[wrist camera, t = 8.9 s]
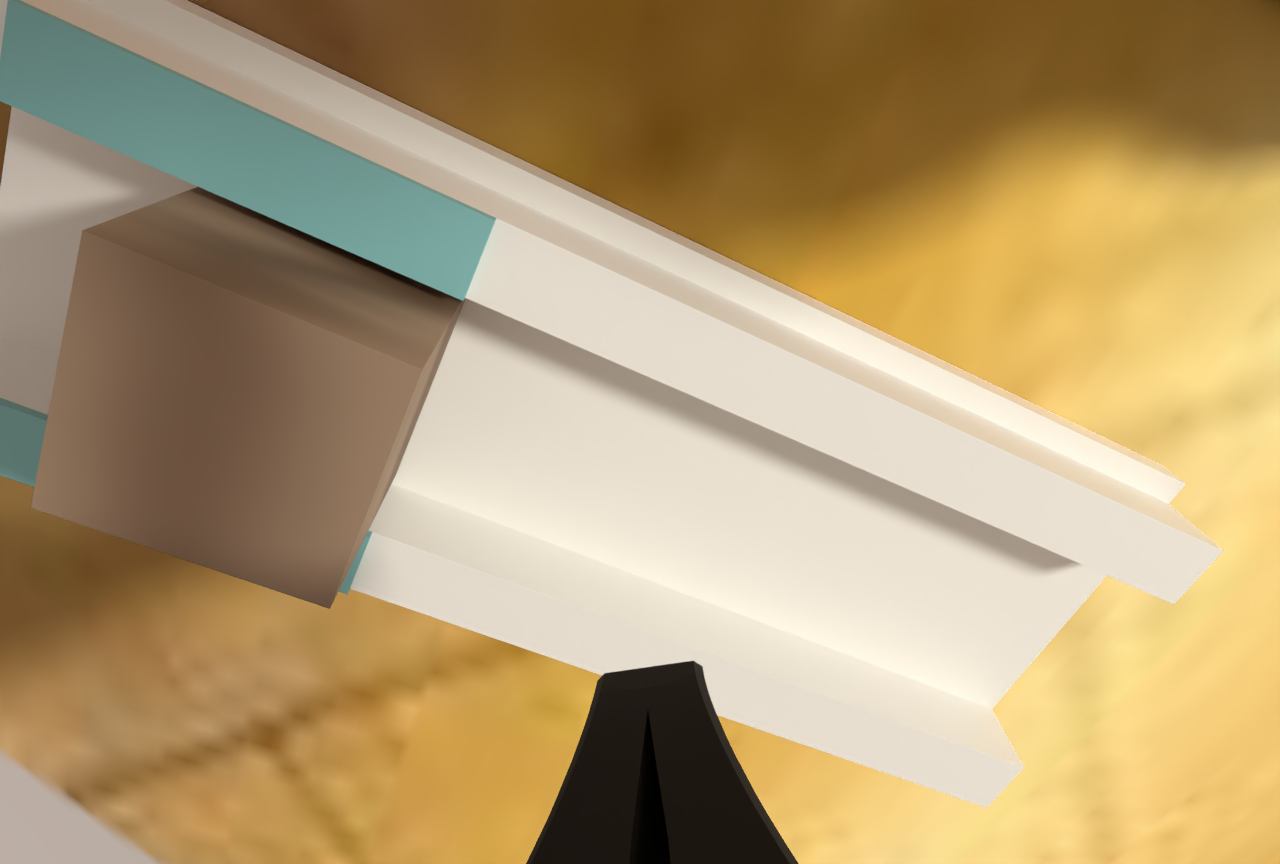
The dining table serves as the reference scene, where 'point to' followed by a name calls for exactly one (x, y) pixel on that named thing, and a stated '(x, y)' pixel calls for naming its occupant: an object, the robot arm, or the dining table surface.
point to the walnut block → (236, 391)
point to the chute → (605, 407)
